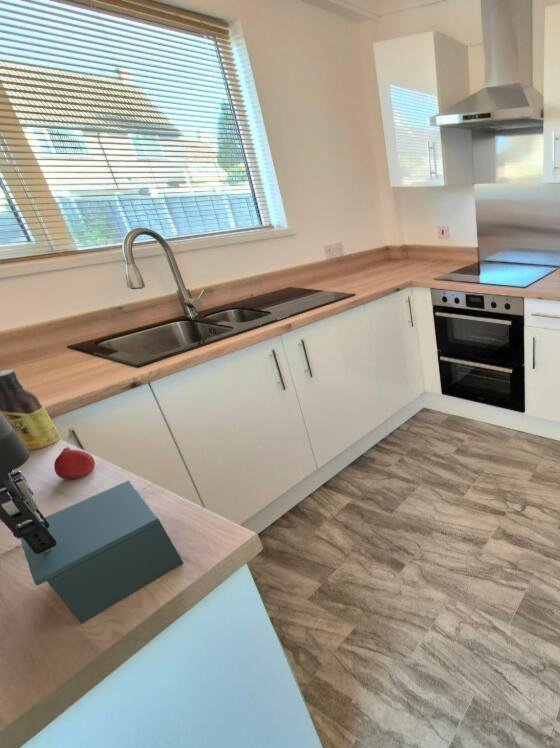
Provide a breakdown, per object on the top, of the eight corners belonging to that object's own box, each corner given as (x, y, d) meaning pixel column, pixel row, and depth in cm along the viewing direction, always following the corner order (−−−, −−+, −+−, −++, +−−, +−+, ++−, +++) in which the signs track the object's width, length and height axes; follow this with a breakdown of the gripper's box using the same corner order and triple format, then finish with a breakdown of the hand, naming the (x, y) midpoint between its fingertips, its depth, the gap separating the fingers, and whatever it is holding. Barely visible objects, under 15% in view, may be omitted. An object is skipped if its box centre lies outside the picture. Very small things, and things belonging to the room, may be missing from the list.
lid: (37, 586, 55) (13, 557, 53) (20, 533, 64) (-1, 507, 62) (160, 522, 64) (145, 495, 62) (130, 483, 73) (116, 459, 71)
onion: (66, 492, 86) (44, 460, 83) (64, 480, 90) (43, 449, 86) (103, 477, 90) (84, 446, 86) (99, 467, 94) (81, 436, 90)
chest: (81, 624, 60) (46, 581, 56) (59, 570, 69) (28, 529, 65) (183, 563, 68) (160, 522, 64) (153, 521, 77) (131, 483, 73)
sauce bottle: (23, 453, 100) (-30, 377, 91) (56, 438, 105) (9, 365, 96) (38, 458, 98) (-15, 381, 89) (71, 443, 103) (24, 368, 94)
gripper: (-80, 436, 54) (-1, 534, 62) (-80, 477, 46) (12, 584, 54) (4, 410, 59) (68, 503, 67) (18, 443, 51) (89, 545, 59)
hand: (43, 539), depth 60 cm, fingers closed on lid, 5 cm apart
